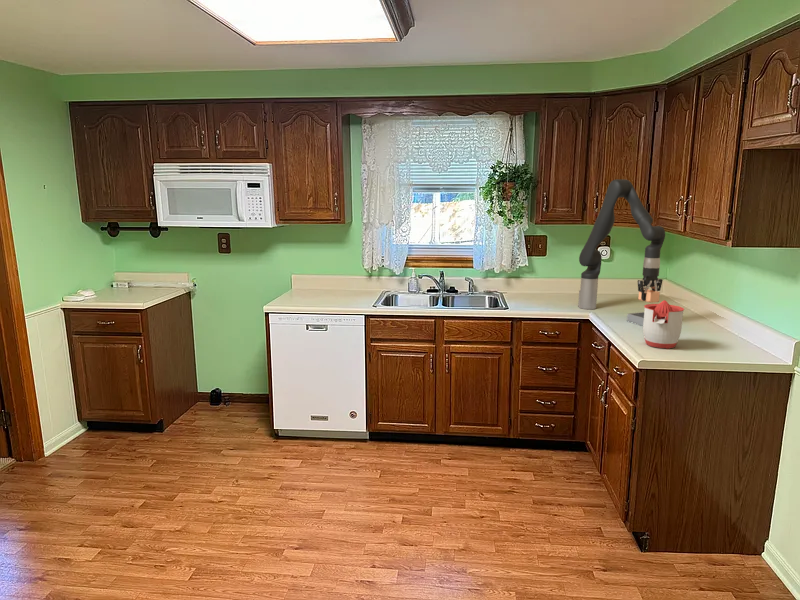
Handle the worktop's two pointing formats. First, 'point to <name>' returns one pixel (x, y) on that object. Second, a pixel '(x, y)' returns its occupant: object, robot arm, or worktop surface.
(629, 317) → the large crate
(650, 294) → the small crate
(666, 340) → the citrus juicer
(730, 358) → the worktop surface
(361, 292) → the worktop surface
